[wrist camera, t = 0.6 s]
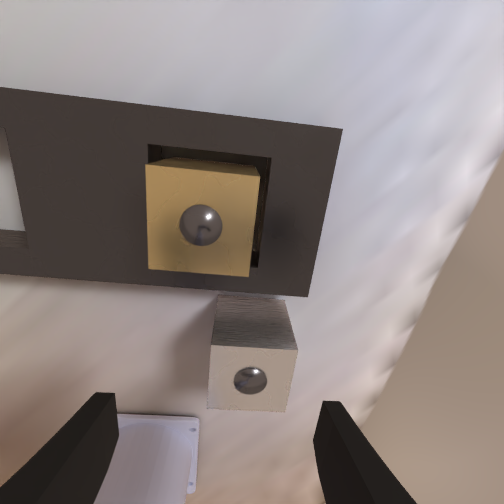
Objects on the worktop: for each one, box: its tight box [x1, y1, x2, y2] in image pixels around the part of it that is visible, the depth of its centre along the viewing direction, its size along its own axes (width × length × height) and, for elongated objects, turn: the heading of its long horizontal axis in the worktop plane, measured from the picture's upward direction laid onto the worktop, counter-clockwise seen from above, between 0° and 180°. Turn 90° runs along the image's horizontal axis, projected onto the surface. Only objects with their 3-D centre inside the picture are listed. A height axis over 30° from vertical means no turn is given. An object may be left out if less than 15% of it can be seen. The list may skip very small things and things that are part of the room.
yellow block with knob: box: [145, 157, 260, 277], centre depth 14 cm, size 4×4×5 cm
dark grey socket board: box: [0, 87, 343, 297], centre depth 15 cm, size 9×24×2 cm, turn 84°
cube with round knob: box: [207, 295, 298, 412], centre depth 18 cm, size 4×4×5 cm
